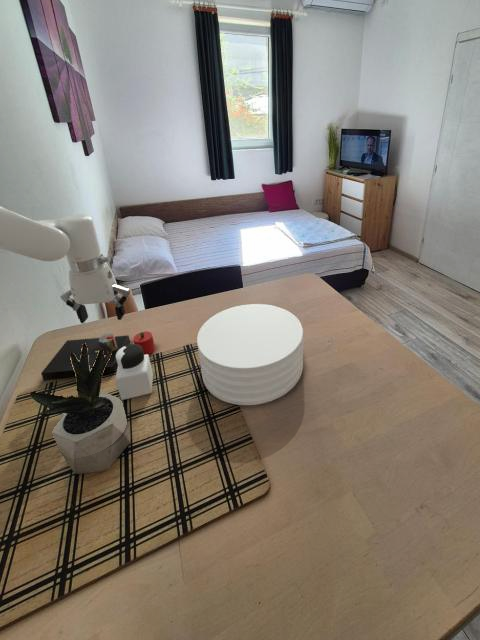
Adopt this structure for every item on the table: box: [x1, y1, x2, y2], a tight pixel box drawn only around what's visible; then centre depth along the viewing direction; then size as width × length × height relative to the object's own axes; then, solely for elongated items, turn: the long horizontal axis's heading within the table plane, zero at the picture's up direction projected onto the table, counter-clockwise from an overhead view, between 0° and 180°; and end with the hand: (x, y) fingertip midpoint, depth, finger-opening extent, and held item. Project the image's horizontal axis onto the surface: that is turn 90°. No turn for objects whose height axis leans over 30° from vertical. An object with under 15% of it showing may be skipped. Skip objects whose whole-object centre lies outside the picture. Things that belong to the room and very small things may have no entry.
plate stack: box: [196, 303, 304, 406], centre depth 89 cm, size 28×28×12 cm
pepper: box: [132, 331, 156, 355], centre depth 97 cm, size 5×5×7 cm
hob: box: [40, 334, 131, 381], centre depth 94 cm, size 19×14×3 cm
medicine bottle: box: [115, 343, 154, 401], centre depth 82 cm, size 7×7×12 cm
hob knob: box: [98, 333, 118, 355], centre depth 93 cm, size 4×4×5 cm
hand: (103, 318), depth 90 cm, fingers open, 9 cm apart
